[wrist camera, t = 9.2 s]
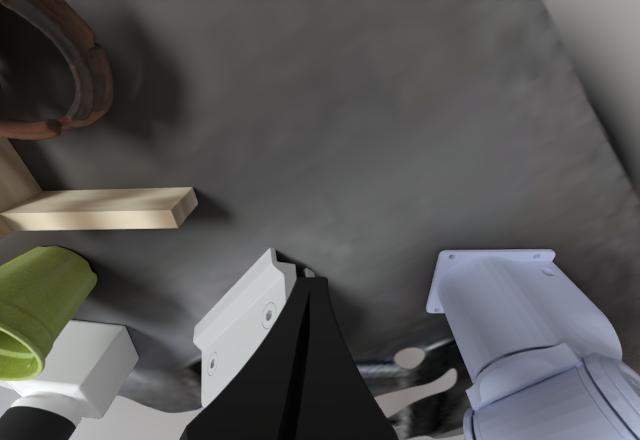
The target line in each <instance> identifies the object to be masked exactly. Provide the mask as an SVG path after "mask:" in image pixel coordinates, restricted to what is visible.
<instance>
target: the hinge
mask: <svg viewBox="0 0 640 440" xmlns="http://www.w3.org/2000/svg"><path fill="white" fill-rule="evenodd" d="M298 277H315V275H314V272H312V271H311V270H310V269H308V268H305V269H304V270H303V271H301V272H299V273H298V271H297V269H296V268H295V264H289V263H283V262H277V258H276V252H275V249H273V248H271V247H270V248H269V249H268V250H267V251H266V252H265V253H264V254H263V255H262V256H261V258H260V259H259V260H258V261H257V262H256V263H255V264H254V265H253V266H252V267H251V268H250V269H249V270H248V271H247V272H246V273H245V274H244V275H243V277H242V278H241V279H240V280H239V281H238V282H237V283H236V284H235V285H234V286H233V287H232V288H231V289H230V290H229V291H228V292H227V293H226V294H225V296H224V297H223V298H222V299H221V300H220V301H219V302H218V303H217V304H216V305H215V306H214V307H213V308H212V309H211V310H210V311H209V312H208V313H207V315H206V316H205V317H204V318H203V319H202V320H201V321H200V322H199V323H198V324H197V325H196V326H195V329H194V340H193V341H194V344H195V345H196V346H197V347H198V348H199V349H200V350H201V351H202V406H203V407H205V408H206V407H207V406H208V405H209V404H210V403H211V402H212V401H213V400H214V399H215V398H216V397H217V396H218V394H219V393H220V392H221V391H222V390H223V389H224V388H225V387H226V386H227V385H228V384H229V382H230V381H231V380H232V379H233V378H234V377H235V376H236V375H237V373H238V372H239V371H240V370H241V369H242V367H243V366H244V365H245V364H246V362H247V361H248V360H249V359H250V357H251V356H252V355H253V354H254V352H255V351H256V350H257V348H258V347H259V345H260V344H261V343H262V341H263V340H264V338H265V337H266V335H267V334H268V332H269V331H270V329H271V327H272V326H273V324H274V323H275V321H276V319H277V318H278V316H279V314H280V312H281V311H282V309H283V307H284V305H285V303H286V301H287V299H288V297H289V295H290V293H291V291H292V289H293V286H294V284H295V281H296V279H297V278H298Z"/></svg>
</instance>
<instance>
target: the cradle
mask: <svg viewBox="0 0 640 440" xmlns="http://www.w3.org/2000/svg"><path fill="white" fill-rule="evenodd" d="M197 205H198V201H197V198H196V195H195V192H194V189H193V187H183V188H144V189H105V190H66V191H43V190H42V189H41V188H40V186H39V185H38V183H37V182H36V180H35V179H34V177H33V176H32V174H31V173H30V171H29V170H28V168H27V167H26V165H25V164H24V162H23V161H22V159H21V158H20V156H19V155H18V153H17V152H16V151H15V149H14V148H13V146H12V145H11V143H10V142H9V140H8V139H7V138H5V137H0V238H2V237H4V236H5V235H7V234H9V233H10V232H12V231H23V230H86V229H149V228H178V227H179V226H180V225H181V224H182V223H183V221H184V220H185V219H186V218H187V217H188V215H189V214H190V213H191V212H192V211H193V209H194V208H195V207H196V206H197Z"/></svg>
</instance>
